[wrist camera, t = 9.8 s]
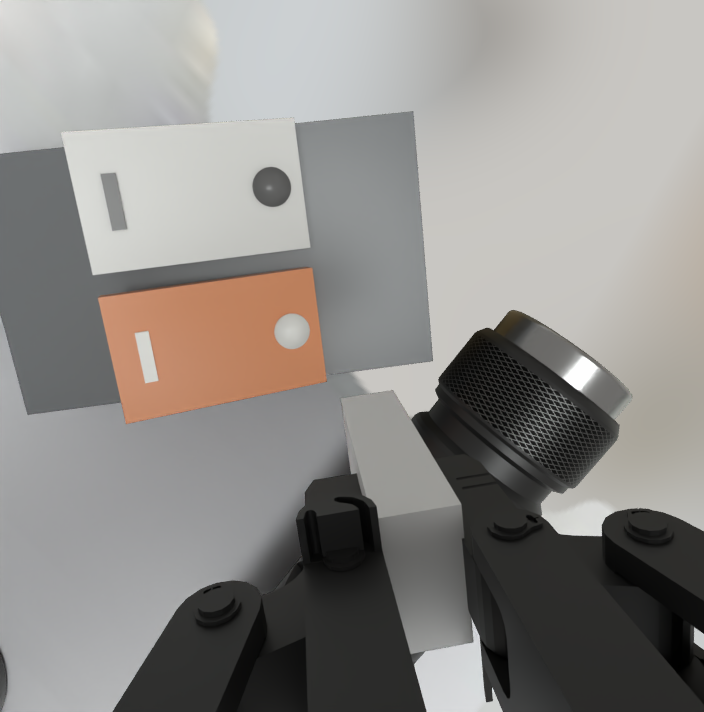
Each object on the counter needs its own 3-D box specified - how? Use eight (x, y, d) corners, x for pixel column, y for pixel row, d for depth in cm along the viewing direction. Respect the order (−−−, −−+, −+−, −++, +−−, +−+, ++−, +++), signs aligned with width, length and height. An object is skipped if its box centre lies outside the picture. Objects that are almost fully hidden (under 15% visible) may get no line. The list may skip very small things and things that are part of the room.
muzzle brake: (224, 606, 39) (198, 739, 29) (475, 289, 35) (545, 315, 25) (331, 667, 41) (342, 811, 31) (580, 374, 37) (683, 428, 27)
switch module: (-34, 400, 34) (-100, 435, 28) (-99, 180, 31) (-187, 170, 25) (414, 342, 35) (435, 364, 30) (396, 128, 32) (416, 108, 27)
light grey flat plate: (96, 273, 26) (92, 275, 24) (66, 136, 24) (59, 131, 23) (305, 247, 28) (311, 247, 27) (288, 122, 27) (294, 116, 25)
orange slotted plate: (126, 416, 27) (126, 425, 26) (99, 295, 26) (97, 298, 24) (320, 376, 30) (327, 382, 29) (305, 266, 29) (313, 267, 27)
